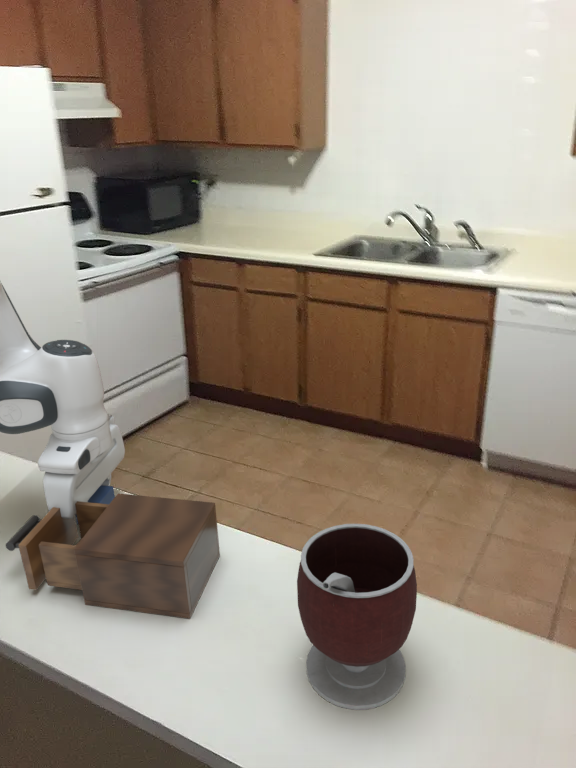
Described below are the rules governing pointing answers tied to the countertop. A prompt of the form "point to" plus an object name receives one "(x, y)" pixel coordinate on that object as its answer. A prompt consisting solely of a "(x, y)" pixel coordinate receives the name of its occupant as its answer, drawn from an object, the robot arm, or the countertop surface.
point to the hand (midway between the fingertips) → (95, 508)
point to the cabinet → (149, 555)
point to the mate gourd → (356, 613)
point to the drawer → (54, 545)
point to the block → (102, 496)
